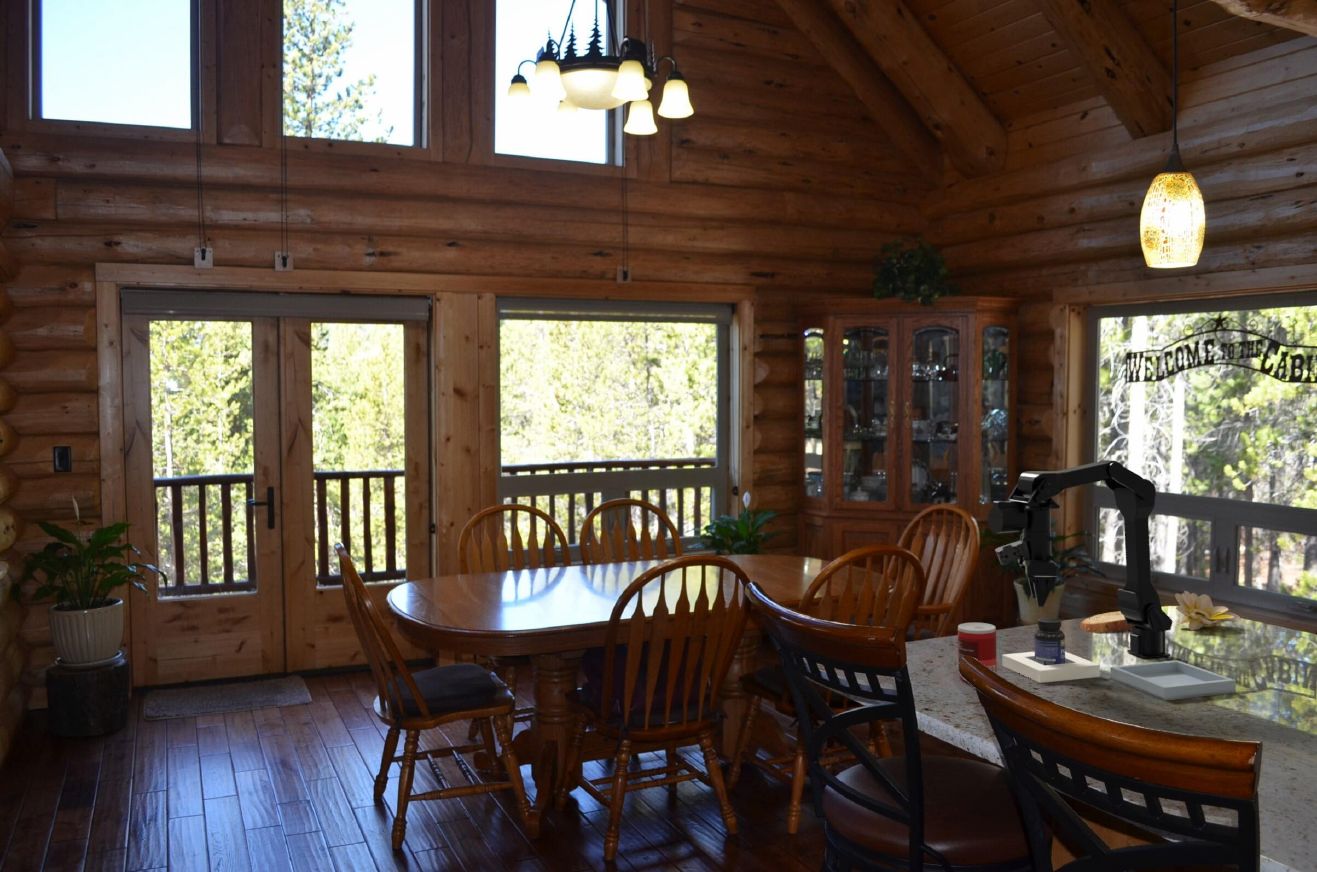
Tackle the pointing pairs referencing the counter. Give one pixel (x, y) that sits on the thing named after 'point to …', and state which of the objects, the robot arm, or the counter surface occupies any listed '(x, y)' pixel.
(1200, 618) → the decorative flower
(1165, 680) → the tray
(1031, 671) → the white square frame
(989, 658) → the canned food
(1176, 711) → the counter surface
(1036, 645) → the pill bottle
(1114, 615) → the slice of bread
